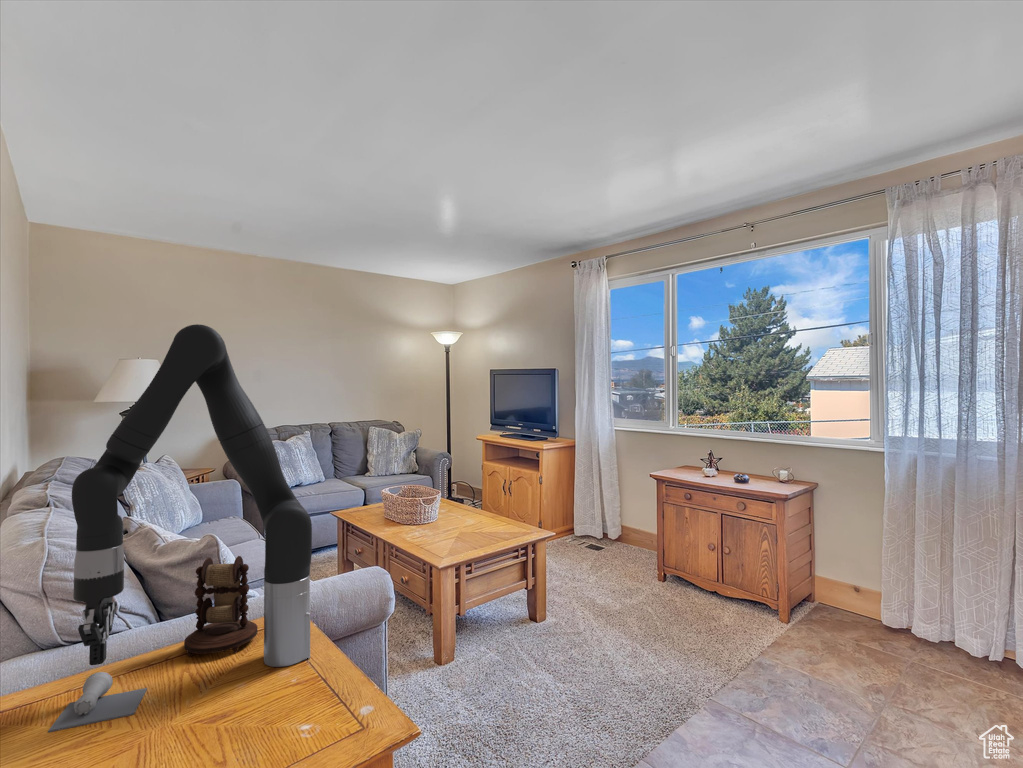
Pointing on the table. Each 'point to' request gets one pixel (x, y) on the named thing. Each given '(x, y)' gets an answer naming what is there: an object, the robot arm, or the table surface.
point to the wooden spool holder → (221, 609)
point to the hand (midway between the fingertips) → (97, 662)
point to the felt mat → (101, 710)
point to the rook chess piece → (93, 692)
